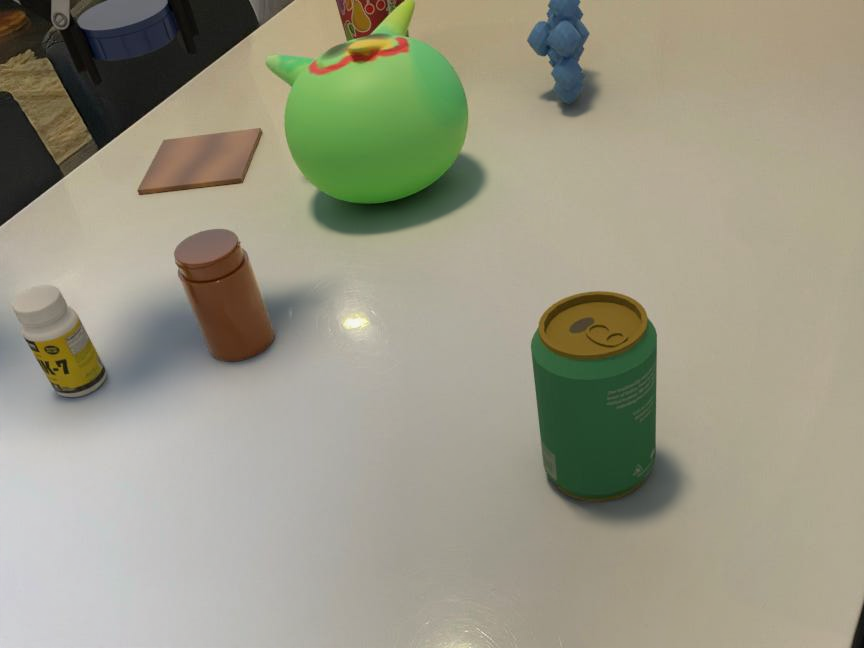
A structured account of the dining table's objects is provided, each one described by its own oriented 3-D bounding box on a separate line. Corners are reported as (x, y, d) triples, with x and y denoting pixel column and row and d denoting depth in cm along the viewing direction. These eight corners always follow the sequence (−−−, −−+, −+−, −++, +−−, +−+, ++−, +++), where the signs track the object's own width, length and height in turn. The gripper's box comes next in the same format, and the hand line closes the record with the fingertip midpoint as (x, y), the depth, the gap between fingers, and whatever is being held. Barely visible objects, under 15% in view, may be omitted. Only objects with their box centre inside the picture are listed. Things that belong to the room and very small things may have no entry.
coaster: (138, 194, 107) (136, 190, 106) (165, 143, 114) (163, 139, 114) (242, 182, 105) (241, 178, 105) (262, 132, 112) (260, 127, 112)
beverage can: (596, 416, 73) (589, 272, 64) (678, 461, 69) (684, 313, 59) (521, 472, 70) (502, 330, 61) (602, 522, 66) (595, 378, 57)
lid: (197, 28, 72) (187, -3, 70) (127, 66, 69) (115, 35, 67) (140, 17, 75) (129, -12, 73) (70, 53, 72) (58, 24, 70)
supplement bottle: (44, 395, 85) (-6, 311, 78) (76, 362, 87) (30, 278, 81) (87, 402, 83) (39, 317, 77) (118, 369, 86) (75, 284, 79)
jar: (203, 364, 84) (162, 270, 77) (215, 325, 88) (178, 231, 81) (269, 357, 84) (234, 261, 77) (279, 317, 87) (247, 222, 80)
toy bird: (325, 251, 94) (281, 91, 82) (290, 178, 104) (247, 28, 93) (498, 198, 95) (478, 34, 84) (447, 132, 106) (423, -21, 95)
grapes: (534, 75, 112) (524, -45, 103) (592, 69, 111) (588, -53, 102) (528, 121, 105) (517, -4, 96) (591, 115, 104) (586, -12, 95)
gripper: (-112, -203, 56) (38, 117, 69) (174, -276, 59) (263, 45, 72) (-118, -220, 60) (24, 84, 74) (148, -287, 63) (236, 17, 77)
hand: (142, 62), depth 73 cm, fingers closed on lid, 6 cm apart
